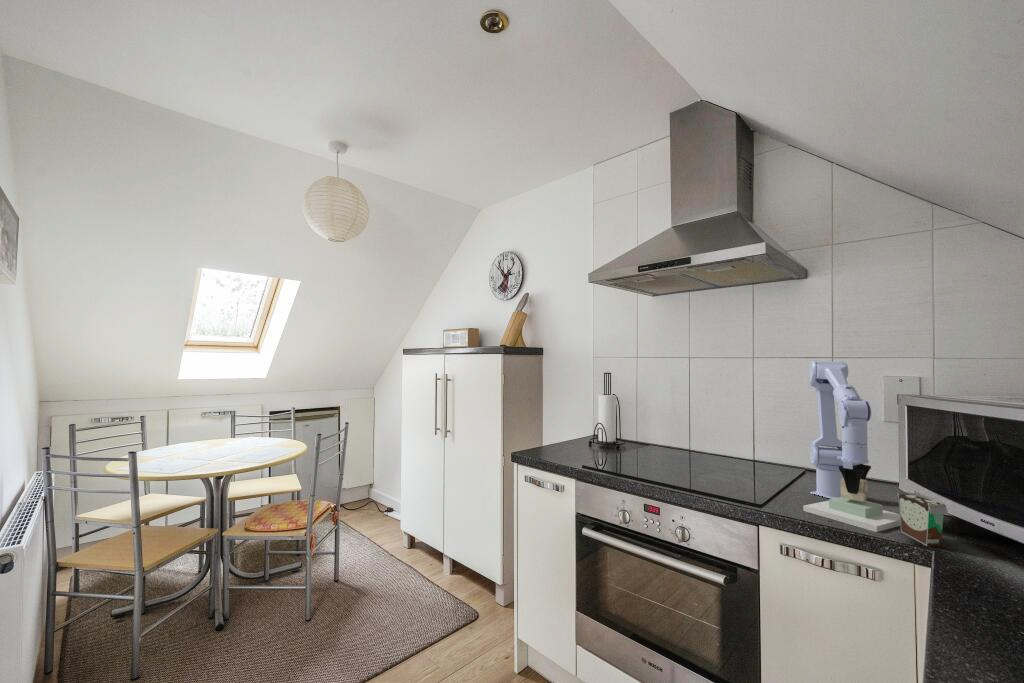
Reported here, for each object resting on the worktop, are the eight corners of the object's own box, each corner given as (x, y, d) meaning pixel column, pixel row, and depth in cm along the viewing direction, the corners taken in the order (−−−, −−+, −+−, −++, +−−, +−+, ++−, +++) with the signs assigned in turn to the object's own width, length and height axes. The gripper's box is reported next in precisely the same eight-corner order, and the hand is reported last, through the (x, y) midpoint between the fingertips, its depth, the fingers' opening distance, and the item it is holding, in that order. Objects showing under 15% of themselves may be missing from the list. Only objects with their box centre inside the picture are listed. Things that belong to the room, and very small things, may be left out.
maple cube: (845, 494, 130) (845, 476, 130) (867, 498, 126) (867, 480, 126) (840, 497, 127) (840, 479, 127) (862, 501, 123) (862, 482, 123)
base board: (838, 503, 138) (837, 490, 138) (911, 522, 122) (910, 507, 122) (803, 510, 130) (803, 496, 130) (876, 532, 114) (876, 516, 114)
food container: (962, 551, 103) (961, 507, 103) (931, 548, 104) (930, 504, 104) (925, 532, 115) (924, 492, 115) (897, 529, 116) (896, 490, 117)
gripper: (844, 438, 135) (845, 484, 134) (830, 443, 125) (830, 492, 125) (874, 442, 129) (875, 490, 129) (861, 447, 120) (862, 498, 119)
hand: (855, 491), depth 126 cm, fingers closed on maple cube, 5 cm apart
